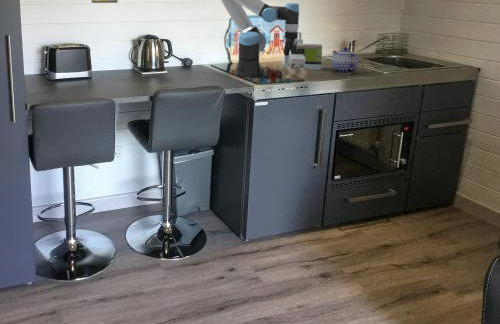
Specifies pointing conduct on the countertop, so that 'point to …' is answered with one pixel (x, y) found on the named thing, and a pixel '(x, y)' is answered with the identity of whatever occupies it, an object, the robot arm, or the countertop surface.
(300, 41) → the grater
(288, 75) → the batten
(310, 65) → the tea box
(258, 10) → the robot arm
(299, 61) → the ink box
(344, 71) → the teapot
